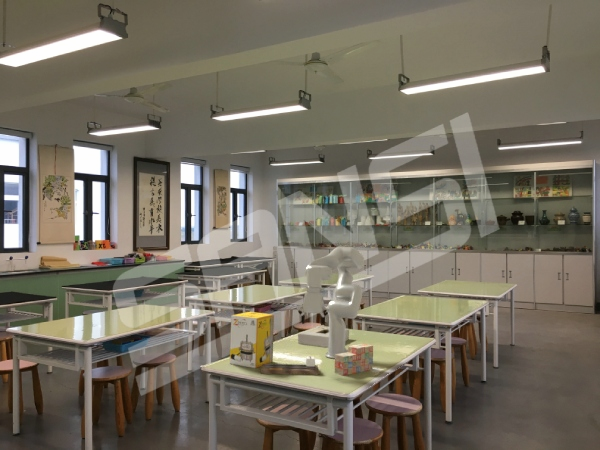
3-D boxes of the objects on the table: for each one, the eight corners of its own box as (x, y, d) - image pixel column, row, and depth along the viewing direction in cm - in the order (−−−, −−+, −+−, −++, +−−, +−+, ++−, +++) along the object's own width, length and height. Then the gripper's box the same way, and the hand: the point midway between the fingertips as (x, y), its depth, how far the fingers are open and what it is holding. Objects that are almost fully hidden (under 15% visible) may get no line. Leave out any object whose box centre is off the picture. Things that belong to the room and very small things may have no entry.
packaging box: (272, 361, 257) (274, 314, 258) (255, 368, 243) (257, 318, 243) (247, 357, 265) (249, 311, 265) (229, 363, 250) (231, 315, 251)
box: (317, 336, 332) (297, 344, 303) (317, 325, 332) (297, 332, 303) (349, 340, 322) (331, 349, 293) (349, 329, 322) (332, 336, 293)
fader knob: (313, 365, 241) (314, 356, 242) (314, 368, 236) (314, 358, 237) (305, 365, 241) (306, 356, 241) (306, 368, 236) (306, 358, 236)
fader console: (317, 369, 244) (317, 363, 244) (318, 374, 234) (319, 368, 234) (262, 368, 243) (262, 362, 243) (261, 373, 233) (261, 367, 233)
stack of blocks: (343, 376, 233) (343, 350, 234) (334, 373, 238) (334, 348, 239) (372, 369, 247) (373, 345, 247) (363, 366, 252) (364, 343, 252)
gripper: (331, 290, 248) (330, 324, 247) (298, 289, 252) (297, 322, 251) (329, 292, 241) (328, 326, 240) (295, 290, 244) (294, 324, 243)
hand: (312, 324), depth 245 cm, fingers open, 9 cm apart
